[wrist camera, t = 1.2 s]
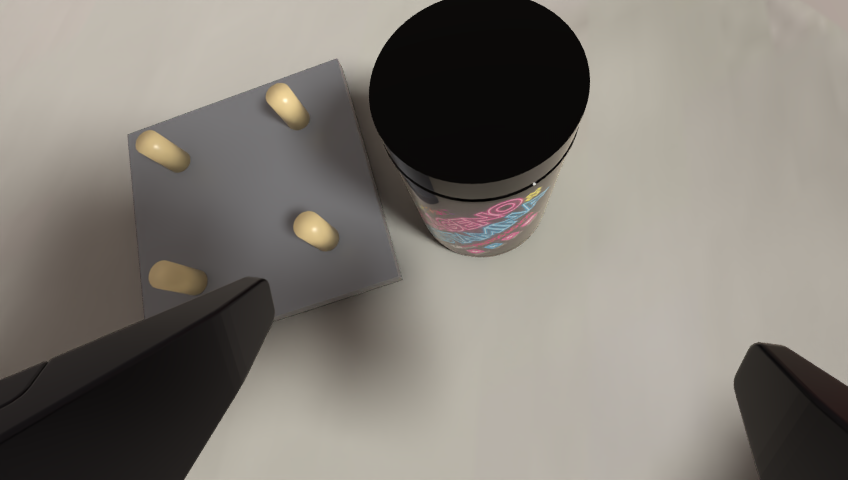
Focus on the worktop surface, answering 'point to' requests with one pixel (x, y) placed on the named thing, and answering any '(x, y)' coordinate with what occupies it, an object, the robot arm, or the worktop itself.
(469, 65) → the supplement container
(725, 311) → the worktop surface
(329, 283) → the plate
